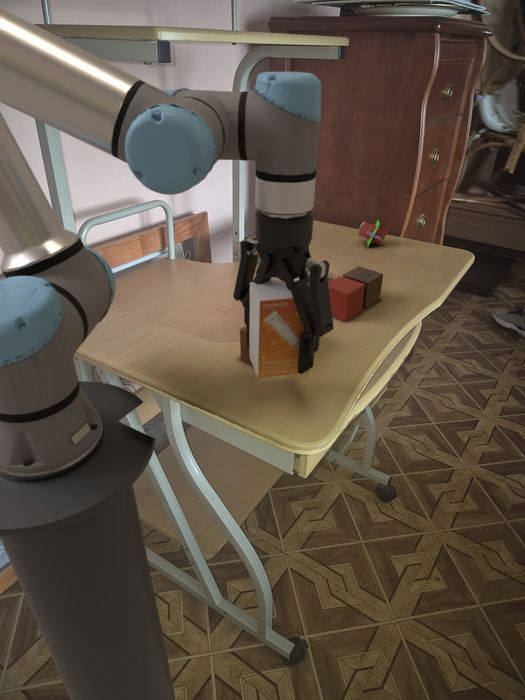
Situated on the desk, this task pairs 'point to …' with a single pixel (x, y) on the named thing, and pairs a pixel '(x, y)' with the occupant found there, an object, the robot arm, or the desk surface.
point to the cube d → (367, 283)
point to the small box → (274, 329)
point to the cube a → (244, 345)
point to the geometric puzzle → (372, 232)
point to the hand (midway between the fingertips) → (278, 356)
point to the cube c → (345, 297)
